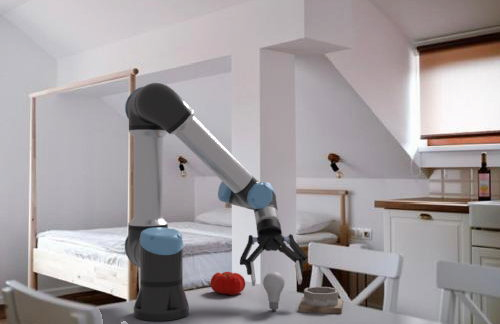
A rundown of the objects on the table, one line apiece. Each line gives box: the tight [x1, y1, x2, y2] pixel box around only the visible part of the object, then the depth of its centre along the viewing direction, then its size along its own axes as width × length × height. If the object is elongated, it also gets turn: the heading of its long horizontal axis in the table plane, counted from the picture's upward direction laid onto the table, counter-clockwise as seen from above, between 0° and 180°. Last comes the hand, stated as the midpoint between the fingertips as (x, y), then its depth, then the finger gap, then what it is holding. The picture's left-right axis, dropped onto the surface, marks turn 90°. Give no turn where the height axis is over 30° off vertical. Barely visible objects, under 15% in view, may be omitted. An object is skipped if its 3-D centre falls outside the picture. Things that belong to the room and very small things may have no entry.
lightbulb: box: [262, 271, 286, 312], centre depth 173 cm, size 6×6×11 cm
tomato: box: [209, 271, 246, 296], centre depth 196 cm, size 10×11×6 cm
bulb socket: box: [297, 286, 344, 314], centre depth 176 cm, size 12×12×5 cm
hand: (277, 282), depth 175 cm, fingers open, 13 cm apart
